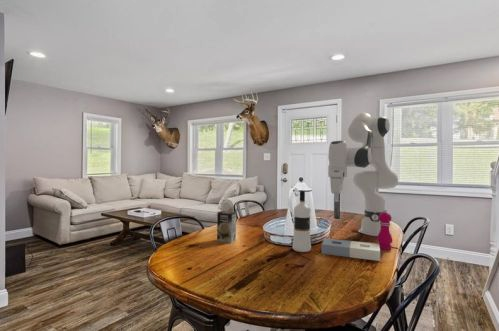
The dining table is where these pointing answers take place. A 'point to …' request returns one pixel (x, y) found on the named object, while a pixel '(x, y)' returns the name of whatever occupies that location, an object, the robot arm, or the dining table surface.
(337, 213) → the lock pin
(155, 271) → the dining table surface
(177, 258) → the dining table surface
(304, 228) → the vodka
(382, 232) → the pepper mill
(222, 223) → the coffee box
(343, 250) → the pin board
